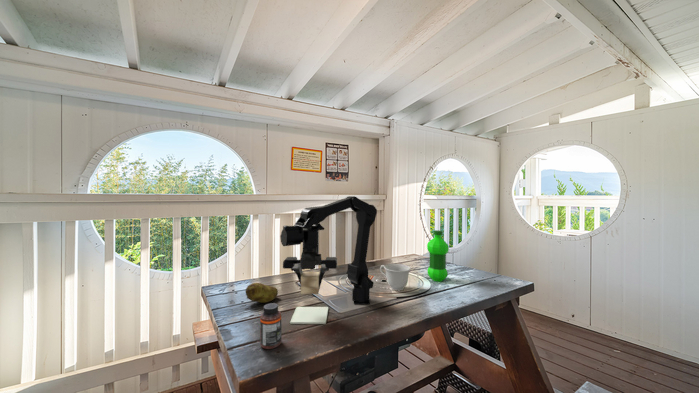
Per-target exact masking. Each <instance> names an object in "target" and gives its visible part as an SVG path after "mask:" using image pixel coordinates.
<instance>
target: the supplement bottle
mask: <svg viewBox="0 0 699 393" xmlns="http://www.w3.org/2000/svg"><path fill="white" fill-rule="evenodd" d="M259 319H260V320H259V328H260V329H259V330H260V331H259V332H260V334H259V335H260V336H259V337H260V338H259V339H260V340H259V342H260V346H261V348H262V349H266V350H272V349H275V348H277V347H279V346H280V345H281V343H282V312H281V311H280V310H279V305H278V304H277V303H275V302H273V303H272V302H270V303H266V304H265V305H263V311H262V313H261V314H260V318H259Z"/></svg>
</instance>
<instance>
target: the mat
mask: <svg viewBox="0 0 699 393" xmlns="http://www.w3.org/2000/svg"><path fill="white" fill-rule="evenodd" d="M328 314H329V307H328V306H296V308H295V310H294V313H293V315H292V317H291V320H290V322H289V324H291V325H297V324H298V325H299V324H300V325H326V324H327V320H328Z"/></svg>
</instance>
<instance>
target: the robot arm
mask: <svg viewBox="0 0 699 393" xmlns="http://www.w3.org/2000/svg"><path fill="white" fill-rule="evenodd" d="M348 209H350V210H351V211H353V212H354V213H355V214H356V215H355V218H356V221H357V226H358V227H357V232H356V233H357V234H356V240H355V249H354V256H353V260H352V262H351V263H348V264H347V270H346V272H345V273H346V274H347V275H346V276H347V279H348V280H349V281H350V284H351V285H353V288H351V289H352V290H351V291H352V292H351V294H352V297H351V298H352V299H351V300H352V301H353V304H354V305H371V301H370V291H371V290H370V289H373V287H374V284H375V283H374V281H373V280H372V279H371V278H370V277H369V269H368V268H369V267H368V265H367V255H368V248H369V240H370V232H371V227H372V225H373V224H374V222H375V220H376V217H377V213H378V212H377V211H378V210H377V208H376V206H375V205H374V204H369V203H368V202H365V201H363V200H361V199H360V198H359V197H357V196H355V195H354V196H353V195H352V196H350V195H349V196H346V197H345V198H341V199H339V200H335V201H333V202H330V203H327V204H324V205H318V206H309V207H305V208H303V209H302V210H301V212H300V216H299V217H298V219H297V221H295V223H294V225H282V230H281V232H280V236H279V237H280V243H281V245H282V246H283V247H289V246H291V247H292V246H297V245H301V243H302V252H301V255H300V259H298V257H297V256H287V257H286V258H284V260H283V262H282V269H287V270H288V269H290V270H291V272H292V271H293V272H294V273H295V275H296V277H297V279H298V282H299V285H300V286H301V276H302V274H303V271H304V270H315V269H316V266H321V267H320V270H319V272H320V278H319V287H320V288H321V285H322V282H323V278H324V276H325V274H326V272H327V271H328V272H329V270H330V269H333V270H334V269H337V268H338V258H337V257H336V256H326V257H325V259H322V254H321V253H320V248H319V247H320V245H319V244H320V243H319V242H320V241H319V240H320V239H319V238H320V231H324V230H325V227H324V226H322V224H321V223H322V222H324V220H326V218H328V217H329V216H332V215H335V214H337V213H340V212H342V211H346V210H348Z"/></svg>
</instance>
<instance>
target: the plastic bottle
mask: <svg viewBox="0 0 699 393" xmlns="http://www.w3.org/2000/svg"><path fill="white" fill-rule="evenodd" d="M433 235H434V237H433V238H432V239H430V241H428V242H427V243H426V244H427V245H426V248H427V252H429V265H428V268H427V275H428V276H429V278H430V280H432V281H434V282H440V283H442V282H443V281H444V280H446V278H448V270H447V267H446V266H447V264H446V263H447V254H448V253H449V250H450V249H449V248H450V246H449V244H448V243H447V242H446V241H445V240H444V239H443V238H442V235H443V230H439V229H438V230H433Z"/></svg>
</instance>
